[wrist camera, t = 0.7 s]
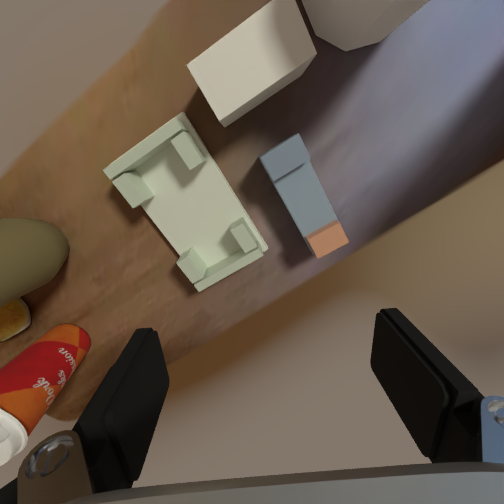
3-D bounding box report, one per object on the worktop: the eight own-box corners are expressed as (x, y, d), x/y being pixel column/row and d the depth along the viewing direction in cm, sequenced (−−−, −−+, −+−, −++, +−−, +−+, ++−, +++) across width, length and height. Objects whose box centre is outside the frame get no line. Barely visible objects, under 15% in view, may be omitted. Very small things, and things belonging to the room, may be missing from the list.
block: (279, 26, 23) (289, -13, 18) (301, 75, 25) (317, 53, 19) (199, 84, 25) (186, 64, 19) (224, 127, 26) (219, 121, 21)
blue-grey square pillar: (290, 136, 27) (298, 133, 23) (336, 228, 31) (350, 241, 26) (258, 156, 28) (260, 157, 23) (306, 244, 32) (316, 259, 27)
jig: (184, 113, 26) (174, 106, 22) (267, 246, 31) (270, 258, 28) (113, 164, 27) (93, 165, 24) (204, 282, 33) (199, 298, 29)
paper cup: (90, 367, 38) (8, 480, 25) (37, 348, 36) (-81, 458, 23) (106, 329, 35) (23, 432, 22) (49, 307, 34) (-75, 404, 21)
